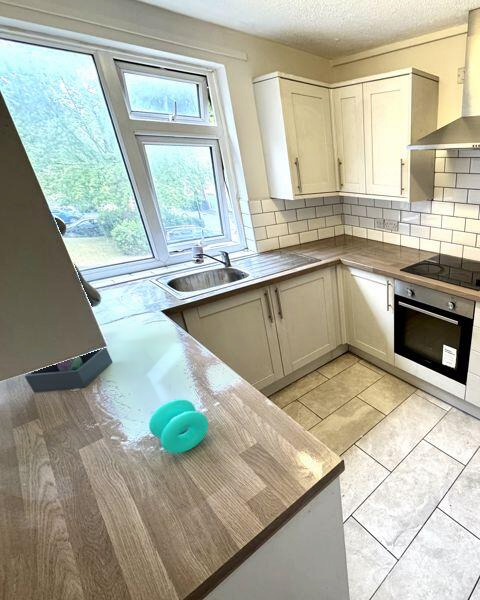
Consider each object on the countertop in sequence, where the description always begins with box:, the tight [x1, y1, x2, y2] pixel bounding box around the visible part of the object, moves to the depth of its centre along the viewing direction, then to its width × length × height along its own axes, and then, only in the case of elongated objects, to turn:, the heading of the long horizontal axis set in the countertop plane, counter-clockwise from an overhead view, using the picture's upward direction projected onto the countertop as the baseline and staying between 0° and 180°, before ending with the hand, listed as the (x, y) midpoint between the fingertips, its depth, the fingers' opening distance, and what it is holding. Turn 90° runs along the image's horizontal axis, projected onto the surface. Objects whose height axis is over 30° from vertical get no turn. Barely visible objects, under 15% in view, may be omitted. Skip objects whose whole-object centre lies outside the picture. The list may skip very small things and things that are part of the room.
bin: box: [24, 347, 113, 393], centre depth 104 cm, size 14×14×6 cm
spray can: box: [57, 356, 83, 372], centre depth 101 cm, size 6×6×20 cm
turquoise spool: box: [148, 398, 209, 454], centre depth 80 cm, size 10×10×10 cm
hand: (53, 337), depth 97 cm, fingers open, 8 cm apart
